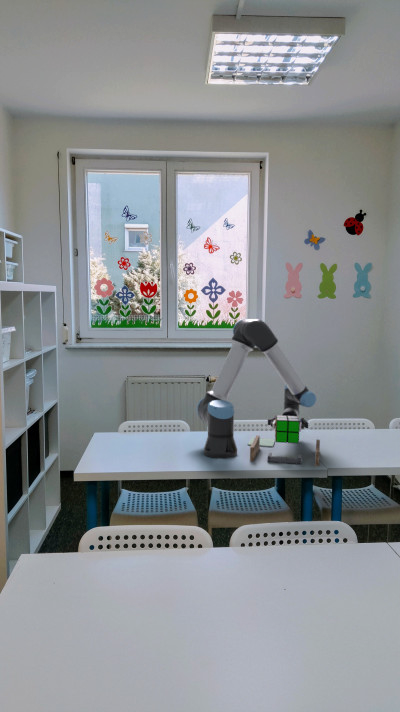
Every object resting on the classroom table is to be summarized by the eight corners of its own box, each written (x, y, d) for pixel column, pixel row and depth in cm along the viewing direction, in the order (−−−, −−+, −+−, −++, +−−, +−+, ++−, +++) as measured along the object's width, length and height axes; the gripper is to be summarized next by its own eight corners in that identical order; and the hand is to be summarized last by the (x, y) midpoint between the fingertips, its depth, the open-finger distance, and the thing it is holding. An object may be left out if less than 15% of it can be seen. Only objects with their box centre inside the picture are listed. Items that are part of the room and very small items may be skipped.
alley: (250, 460, 216) (250, 447, 215) (256, 447, 235) (256, 435, 235) (319, 466, 209) (319, 452, 208) (319, 452, 228) (319, 439, 228)
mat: (247, 445, 239) (247, 444, 239) (251, 438, 251) (251, 437, 251) (272, 447, 236) (272, 446, 236) (275, 440, 248) (275, 439, 248)
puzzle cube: (297, 437, 228) (298, 416, 227) (298, 443, 218) (299, 421, 217) (274, 436, 229) (275, 415, 228) (275, 442, 219) (276, 420, 218)
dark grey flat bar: (267, 462, 214) (267, 456, 214) (268, 458, 219) (268, 452, 219) (300, 464, 211) (300, 459, 210) (301, 460, 216) (301, 455, 216)
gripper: (314, 426, 238) (313, 438, 216) (265, 422, 243) (259, 433, 222) (315, 411, 237) (314, 421, 216) (265, 407, 242) (260, 417, 221)
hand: (286, 427), depth 219 cm, fingers closed on puzzle cube, 11 cm apart
